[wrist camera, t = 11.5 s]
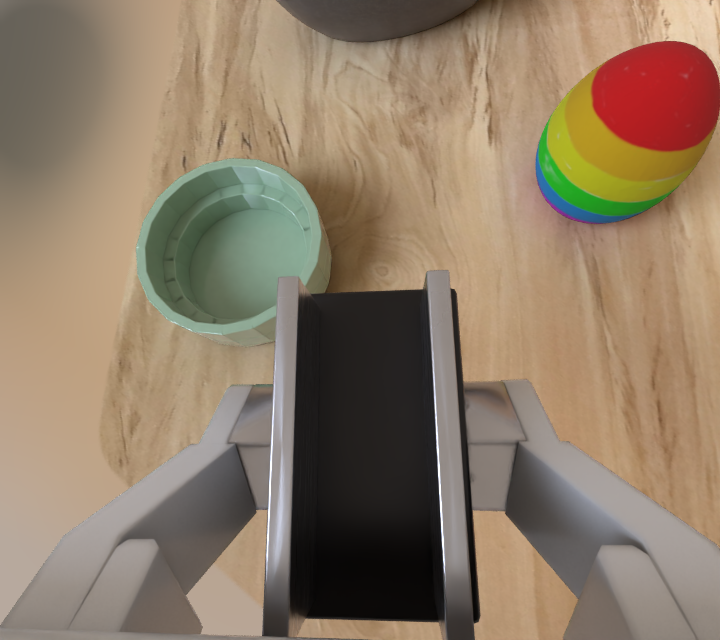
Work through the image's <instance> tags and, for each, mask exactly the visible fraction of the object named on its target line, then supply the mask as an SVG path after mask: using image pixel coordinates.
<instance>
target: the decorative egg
mask: <svg viewBox="0 0 720 640" xmlns="http://www.w3.org/2000/svg"><path fill="white" fill-rule="evenodd" d="M719 110H720V83H719V78H718V75H717V71H716V69H715V67H714V65H713V63H712V61H711V60H710V59H709V57H708V56H707V55H706V54H705V53H704V52H703V51H702V50H700V49H698V48H697V47H695V46H693V45H691V44H687V43H684V42H677V41H663V42H655V43H650V44H645V45H642V46H639V47H636V48H633V49H630V50H628V51H626V52H623V53H621V54H619V55H617V56H615V57H613V58H611V59H610V60H608V61H606V62H605V63H603V64H602V65H600V66H599V67H597V68H596V69H594V70H593V71H591V72H590V73H589V74H588V75H587V76H585V77H584V78H583V79H582V80H581V81H580V82H579V83H578V84H577V85H575V86H574V87H573V88H572V89H571V91H570V92H569V93H568V94H567V95H566V96H565V97H564V99H563V100H562V101H561V102H560V104H559V105H558V106H557V108H556V109H555V111H554V112H553V114H552V115H551V117H550V119H549V120H548V122H547V124H546V126H545V128H544V131H543V133H542V136H541V138H540V141H539V145H538V149H537V154H536V177H537V181H538V185H539V188H540V190H541V192H542V194H543V196H544V198H545V199H546V201H547V202H548V203H549V204H550V205H551V206H552V208H554V209H555V210H556V211H557V212H559V213H560V214H562V215H563V216H565V217H567V218H569V219H572V220H575V221H579V222H583V223H591V224H602V223H611V222H617V221H621V220H624V219H628V218H630V217H633V216H635V215H638V214H640V213H642V212H644V211H646V210H648V209H649V208H651V207H653V206H654V205H656V204H657V203H659V202H660V201H662V200H663V199H664V198H666V197H667V196H668V195H669V194H671V193H672V192H673V191H674V190H675V189H676V188H677V187H678V186H679V185H680V184H681V183H682V182H683V181H684V180H685V179H686V178H687V176H688V175H689V174H690V173H691V172H692V170H693V169H694V168H695V166H696V165H697V163H698V162H699V160H700V159H701V157H702V156H703V154H704V152H705V150H706V148H707V146H708V144H709V142H710V140H711V138H712V135H713V133H714V130H715V127H716V124H717V120H718V116H719Z"/></svg>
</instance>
